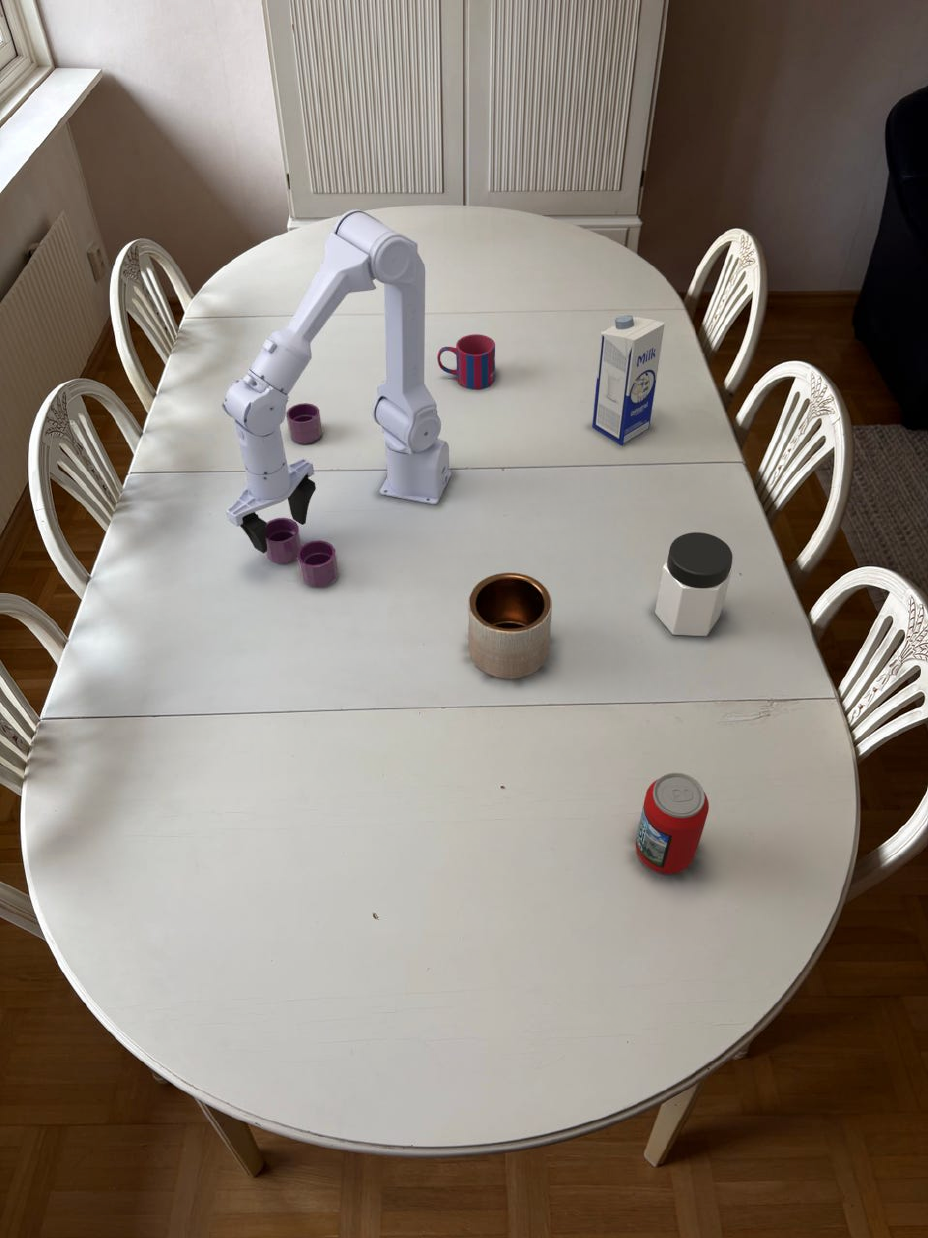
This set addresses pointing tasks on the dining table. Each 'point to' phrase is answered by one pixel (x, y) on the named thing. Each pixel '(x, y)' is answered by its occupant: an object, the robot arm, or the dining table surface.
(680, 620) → the jar
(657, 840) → the beverage can
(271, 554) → the dish
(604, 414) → the milk carton
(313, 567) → the purple small cup
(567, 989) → the dining table surface
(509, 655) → the planter
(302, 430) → the dish
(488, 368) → the mug
